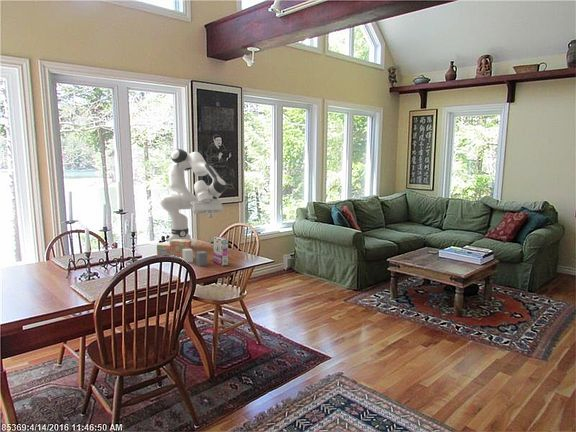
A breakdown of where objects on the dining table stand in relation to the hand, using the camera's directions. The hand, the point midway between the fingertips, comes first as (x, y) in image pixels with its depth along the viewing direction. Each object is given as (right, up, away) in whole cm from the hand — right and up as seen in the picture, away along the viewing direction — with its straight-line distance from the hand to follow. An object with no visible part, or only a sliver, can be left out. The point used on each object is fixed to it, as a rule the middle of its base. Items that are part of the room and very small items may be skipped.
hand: (210, 217), depth 266 cm
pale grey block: (-13, -29, -7) cm, 32 cm away
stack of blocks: (-24, -27, +1) cm, 37 cm away
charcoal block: (-3, -30, -13) cm, 33 cm away
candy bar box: (+8, -30, -10) cm, 32 cm away
